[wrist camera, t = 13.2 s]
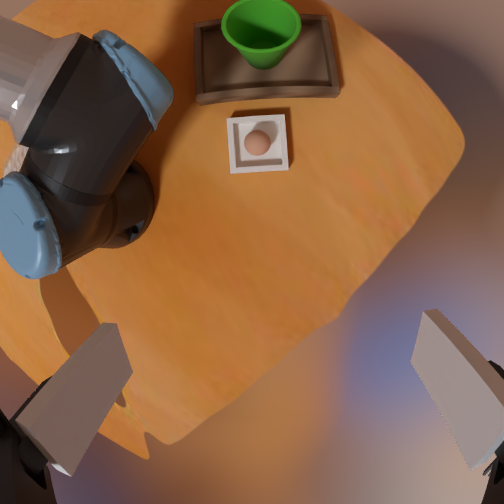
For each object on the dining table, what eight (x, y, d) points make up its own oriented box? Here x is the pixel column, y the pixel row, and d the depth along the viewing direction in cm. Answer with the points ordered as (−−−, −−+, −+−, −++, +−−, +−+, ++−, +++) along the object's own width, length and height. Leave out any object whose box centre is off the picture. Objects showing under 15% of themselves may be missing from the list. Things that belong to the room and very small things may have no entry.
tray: (200, 105, 37) (196, 101, 34) (198, 30, 33) (193, 23, 30) (335, 98, 35) (340, 93, 32) (323, 23, 31) (326, 15, 29)
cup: (236, 31, 32) (226, -6, 21) (296, 36, 32) (303, -1, 21) (229, 79, 35) (215, 50, 24) (291, 85, 34) (299, 56, 24)
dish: (232, 173, 39) (230, 173, 38) (228, 120, 37) (226, 118, 35) (287, 170, 39) (288, 170, 37) (283, 116, 37) (284, 114, 35)
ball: (246, 157, 38) (243, 155, 35) (244, 133, 37) (241, 129, 34) (271, 155, 38) (271, 154, 34) (269, 131, 37) (269, 127, 33)
